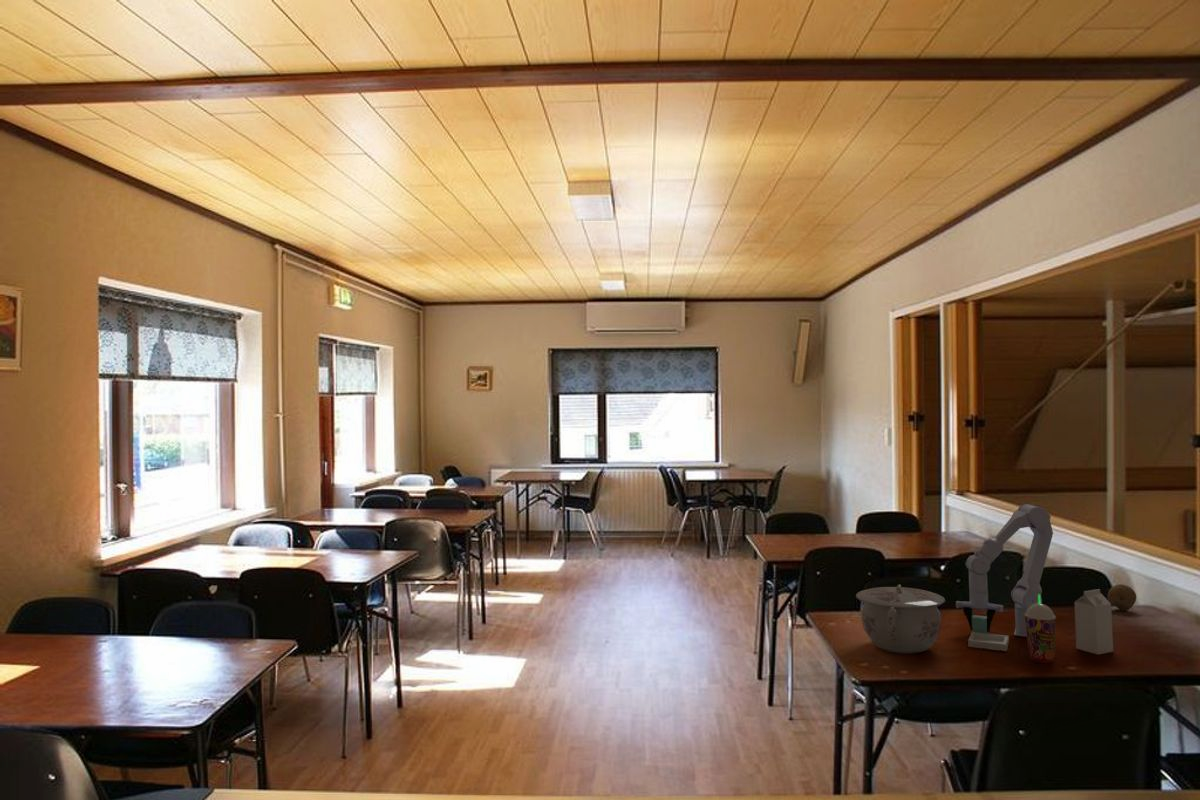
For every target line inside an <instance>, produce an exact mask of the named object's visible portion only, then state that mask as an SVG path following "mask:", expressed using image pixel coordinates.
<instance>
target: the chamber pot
mask: <svg viewBox="0 0 1200 800" xmlns="http://www.w3.org/2000/svg"><path fill="white" fill-rule="evenodd" d="M855 598H857V600H859V601H860V602H863V605H862V606H861V609H860V612H861V613H860V614H861V622H862V627H863V630H864V632H865V634H866V635H867V637H868V638H869V640H870V641H871V643H873V645H874V646H876V647H877V648H879V649H882V650H883V651H886V652H889V651H890V653H895V654H902V653H903V654H904V655H907V654H908V655H909V654H911V655H912V654H918V653H922V652H926V651H928V650H929V649H930V648H931V647H933V645H934V644H935V642H936V640H937V639H938V638H939V636H940V631H941V626H942V614H941V613H940V611H939V609H938V606H941V605H943V604H944V603H945V602H946V600H945V597H944V596H942V595H940V594H938V593H935V592H932V591H928V590H925V589H921V588H914V587H913V588H912V587H906V586H905V587H902V585H901V584H900V583H899V584H897V586H881V587H872V588H867V589H864V590H863V589H862V590H860V591H858V592H857V593H856V595H855ZM903 654H902V655H903Z"/></svg>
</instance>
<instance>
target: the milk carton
mask: <svg viewBox="0 0 1200 800" xmlns="http://www.w3.org/2000/svg"><path fill="white" fill-rule="evenodd" d="M1073 604H1074V621H1075V642H1076V643H1075V645H1076V646H1075V647H1076V649H1077V650H1080V651H1083V652H1087V653H1090V654H1094V655H1102V654H1103V655H1104V654H1107V653H1108V654H1109V653H1112V652H1114V642H1113V641H1114V637H1113V618H1112V617H1113V616H1112V604H1111V603H1110V602H1109V601H1108V598H1106V597H1105V595H1103V593H1101V589H1100V588H1098V589H1092V590H1084V591H1083V595H1082V596H1080V597H1079V598H1078V599H1077V600H1075V601H1074V603H1073Z"/></svg>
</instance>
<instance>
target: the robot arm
mask: <svg viewBox="0 0 1200 800" xmlns="http://www.w3.org/2000/svg"><path fill="white" fill-rule="evenodd" d="M1024 528H1025V529H1026V528H1029V529H1030V530H1031V532H1032V533H1033V537H1032V540H1031V544H1030V548H1029V551H1028V554H1027V558H1026V562H1025V566H1024V569H1023V572H1022V576H1021V578H1019V580H1017V581H1016V582H1017V583H1016V585H1015V587H1014V588H1012V590H1011V592H1010V593H1011V594H1010V596H1011V599H1012V601H1013V602H1014V616H1015V617H1014V619H1015V629H1014V633H1013V635H1014V636H1015V637H1026V638H1027V631H1026V622H1025V615H1024V614H1025V613H1026V611H1027V609H1028V608H1029V607H1030V606H1031V605H1033V604H1036V603H1038V595H1040V599H1041V604H1043V599H1042V593H1043V590H1042V587H1041V584H1040V582H1041V579H1042V576H1043V571H1044V569H1045V568H1044V567H1045V565H1046V560H1047V557H1048V554H1049V550H1050V546H1051V542H1052V539H1053V536H1054V532H1053V531H1054V530H1053V527H1052V523H1051V515H1050V514H1049V512H1048V511H1047V510H1046V509H1045V508H1043V507H1041V506H1035V505H1032V504H1028V503H1025V504H1022V505H1020V506H1019V507H1018V508H1017V509H1016V510H1015V511H1013V513H1012V515H1011V516H1010V518H1009V519H1008V520H1007V522H1006V523H1005V524H1004V526H1002V528H1001V529H1000V530H999V532H998V533H997V534H996V535H995V537H992V538H987V540H986V539H984V540H983V541H982V543H983V544H982V545H981V546H980V547H979V548H978V549H977V550H974V552H973V555H969V556H968V558H967V559H966V561H965V563H964V564H965V566H966V567H965V568H966V569H968V588H969V589H968V590H969V592H968V593H969V601H966V600H965V601H964V600H963V601H960V600H956V601H955V607H956V608H955V609H960V608H961V609H963V614H964V616H965V617H966V620H967V622H968V625H969V628H970V630H969V631H972V616H973V610H981V611H986V614H985V615H986V616H987V632H988V633H990V631H991V626H992V621H993V618H994V616H995V614H996V612H999V613H1003V612H1004V605H1002V604H995V603H991V602H989V591H988V572H989V571H990V569H991V564H992V563H993V562H994V561H995V559H996V558H997V557H998V556H999V555H1000V554H1001V553H1002V552H1003V551H1004V545H1005V543H1006V542H1007V541H1008V540H1010V539H1011V538H1012V536H1014V535H1015V534H1016V532H1018V531H1019V530H1020V529H1024Z"/></svg>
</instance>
